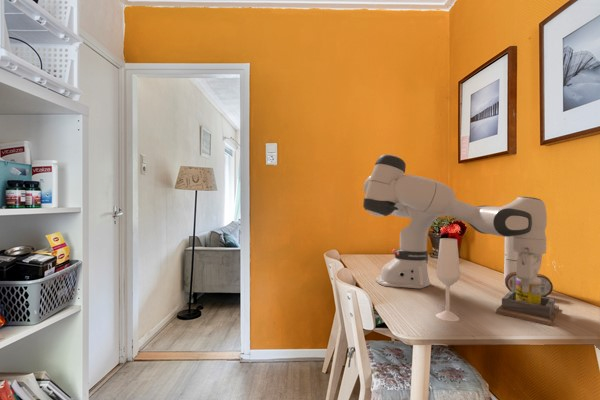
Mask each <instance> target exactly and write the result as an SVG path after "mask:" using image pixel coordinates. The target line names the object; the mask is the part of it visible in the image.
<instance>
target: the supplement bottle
mask: <svg viewBox="0 0 600 400" xmlns="http://www.w3.org/2000/svg"><path fill="white" fill-rule="evenodd" d="M537 274H539V271H538V270H537V269H536V270H535V275H534V277H533V278H532V279H531V280H530V284H529V286H530V291H529V292H528V293H527V292H523V291H522V283H521V279H518V278H516V301H522V302H527V303H532V304H537V305H541V280H540V278H538V277H537Z"/></svg>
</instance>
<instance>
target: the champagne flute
mask: <svg viewBox="0 0 600 400" xmlns="http://www.w3.org/2000/svg"><path fill="white" fill-rule="evenodd" d="M436 263H437V264H436V271H435V272H436V277H437V278H438V280H439V281H440V282H441V283H442V284H443V285H445V309H444V310H443V311H440V312H438V313H436V314H435V316H436V318H437V319H440V320H442V321H446V322H458V321H460V318H459V317H458V316H457V315H456V314H455V313H453V312H452V311H450V309H451V307H450V305H451V304H450V302H451V301H450V300H451V286H453V285H454V284H455V283H457V282H458V281H459V280H460V278H461V272H460V271H461V269H460V258H459V247H458V239H457V238H450V237H449V238H448V237H447V238H446V237H443V238H440V239H439V246H438V256H437V262H436Z"/></svg>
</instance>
